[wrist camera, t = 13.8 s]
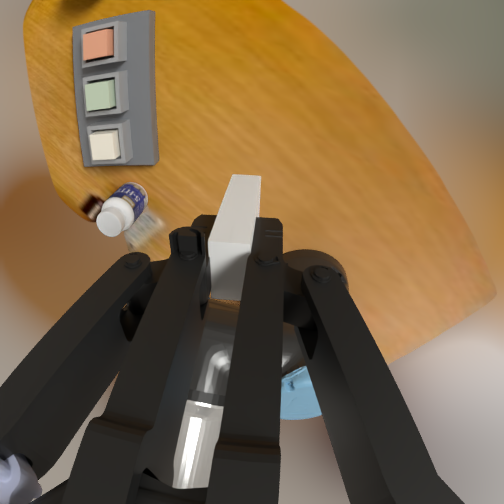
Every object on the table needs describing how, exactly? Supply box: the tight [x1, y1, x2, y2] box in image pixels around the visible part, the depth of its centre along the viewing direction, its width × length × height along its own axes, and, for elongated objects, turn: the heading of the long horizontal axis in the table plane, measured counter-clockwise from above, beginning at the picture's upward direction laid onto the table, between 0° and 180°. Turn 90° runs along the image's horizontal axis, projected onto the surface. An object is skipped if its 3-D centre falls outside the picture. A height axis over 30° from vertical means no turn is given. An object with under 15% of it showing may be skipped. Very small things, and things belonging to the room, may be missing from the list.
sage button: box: [85, 79, 116, 111], centre depth 34 cm, size 4×4×3 cm
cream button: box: [89, 128, 121, 160], centre depth 38 cm, size 4×4×3 cm
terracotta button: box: [83, 29, 114, 60], centre depth 30 cm, size 4×4×3 cm
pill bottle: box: [96, 182, 148, 237], centre depth 44 cm, size 5×5×9 cm
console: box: [73, 10, 159, 167], centre depth 36 cm, size 22×12×4 cm, turn 178°
